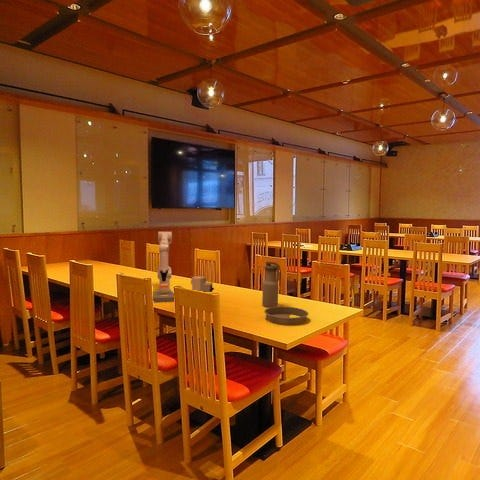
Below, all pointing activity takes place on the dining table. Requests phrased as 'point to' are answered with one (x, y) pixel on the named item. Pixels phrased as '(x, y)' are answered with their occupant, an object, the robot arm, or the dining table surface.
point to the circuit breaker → (201, 284)
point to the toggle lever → (164, 288)
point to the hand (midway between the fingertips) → (163, 281)
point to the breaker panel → (163, 296)
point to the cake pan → (285, 315)
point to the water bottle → (271, 285)
